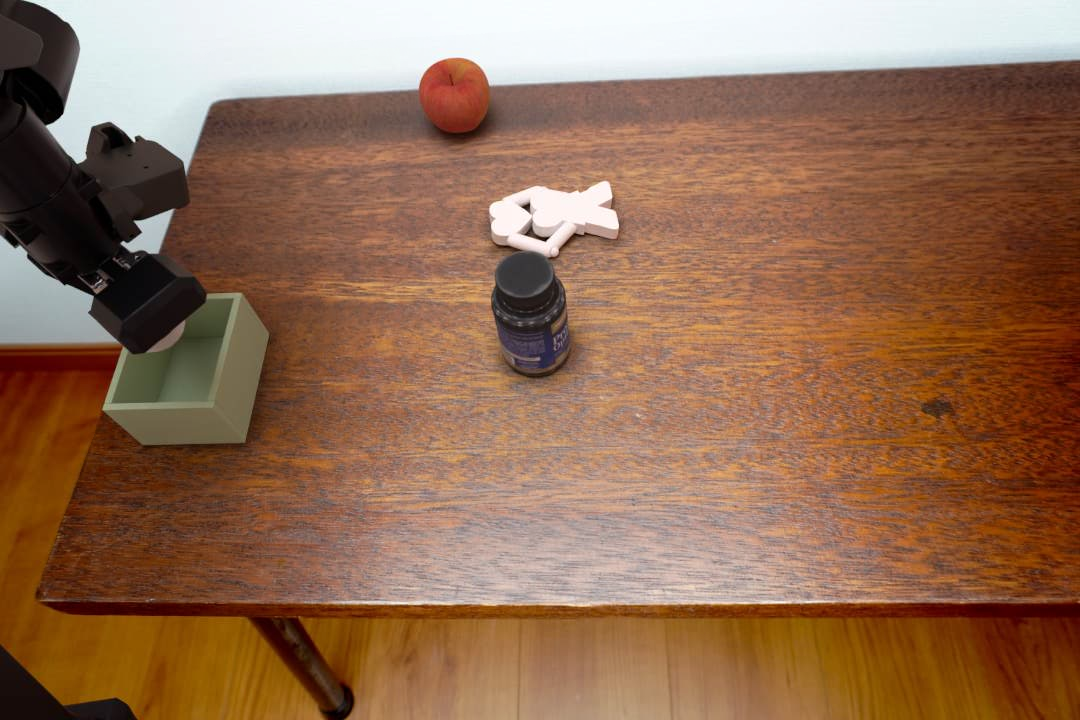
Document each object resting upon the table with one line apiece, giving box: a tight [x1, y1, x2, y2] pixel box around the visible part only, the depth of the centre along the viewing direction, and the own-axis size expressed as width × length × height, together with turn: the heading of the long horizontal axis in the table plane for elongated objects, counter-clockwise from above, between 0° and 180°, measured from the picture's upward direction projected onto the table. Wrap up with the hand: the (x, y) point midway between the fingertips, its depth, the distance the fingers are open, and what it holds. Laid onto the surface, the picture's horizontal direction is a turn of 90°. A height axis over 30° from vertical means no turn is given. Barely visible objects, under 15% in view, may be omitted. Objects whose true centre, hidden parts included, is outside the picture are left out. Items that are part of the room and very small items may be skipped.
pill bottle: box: [490, 250, 571, 377], centre depth 68 cm, size 6×6×11 cm
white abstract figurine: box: [488, 180, 620, 259], centre depth 79 cm, size 9×12×2 cm
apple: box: [418, 57, 491, 134], centre depth 85 cm, size 7×7×8 cm
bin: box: [101, 292, 270, 446], centre depth 71 cm, size 11×9×7 cm
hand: (148, 320), depth 64 cm, fingers closed on rook chess piece, 4 cm apart
